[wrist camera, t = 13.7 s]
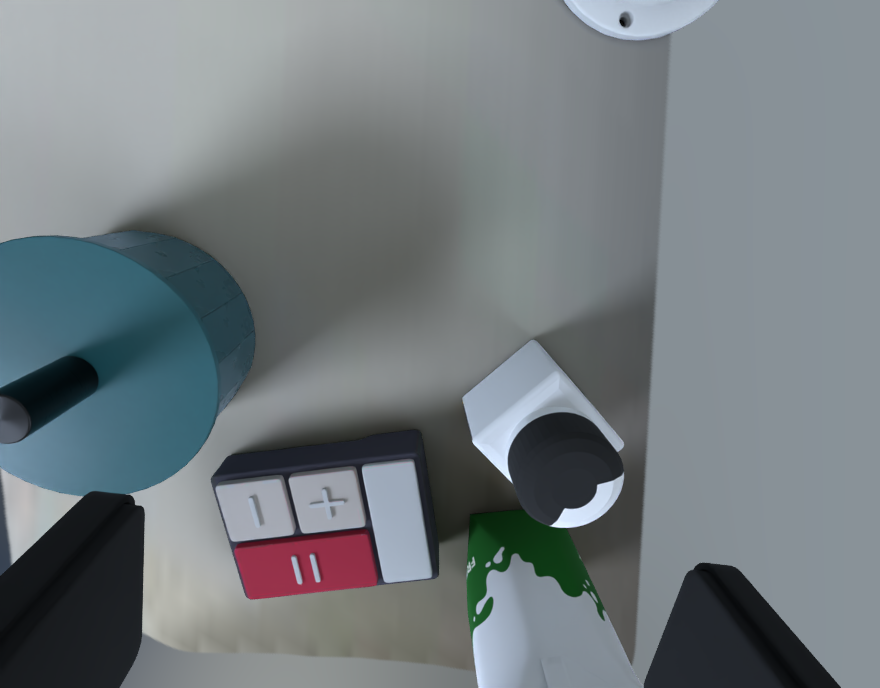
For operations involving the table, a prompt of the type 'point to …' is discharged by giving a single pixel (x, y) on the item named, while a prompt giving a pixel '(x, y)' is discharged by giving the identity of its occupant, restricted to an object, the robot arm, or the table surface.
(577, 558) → the milk carton
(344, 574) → the calculator
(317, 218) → the table surface
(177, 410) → the lid
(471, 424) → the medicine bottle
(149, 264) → the tin
